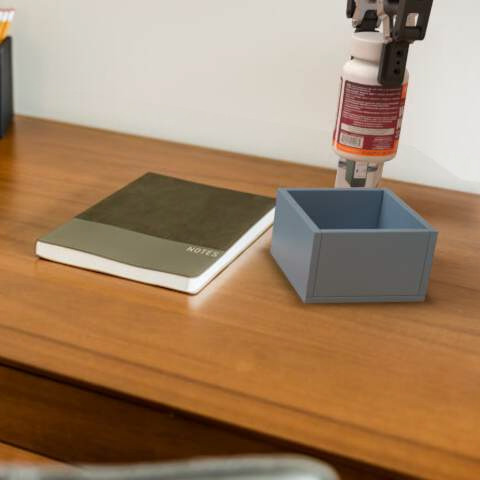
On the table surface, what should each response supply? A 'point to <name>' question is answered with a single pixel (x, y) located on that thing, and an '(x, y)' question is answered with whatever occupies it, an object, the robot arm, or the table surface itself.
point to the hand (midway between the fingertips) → (375, 76)
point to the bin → (352, 245)
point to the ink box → (358, 174)
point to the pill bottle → (367, 105)
